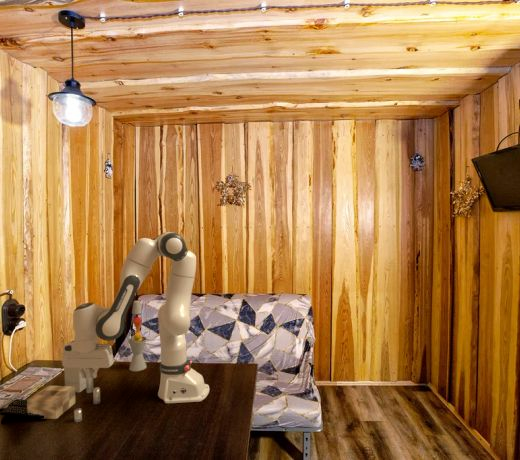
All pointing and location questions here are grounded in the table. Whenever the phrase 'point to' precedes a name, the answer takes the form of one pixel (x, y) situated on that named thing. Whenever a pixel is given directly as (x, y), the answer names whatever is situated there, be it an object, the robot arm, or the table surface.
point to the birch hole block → (52, 401)
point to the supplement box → (74, 379)
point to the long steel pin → (89, 380)
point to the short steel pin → (77, 415)
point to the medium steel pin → (96, 395)
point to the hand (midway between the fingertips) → (89, 377)
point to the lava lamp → (137, 341)
